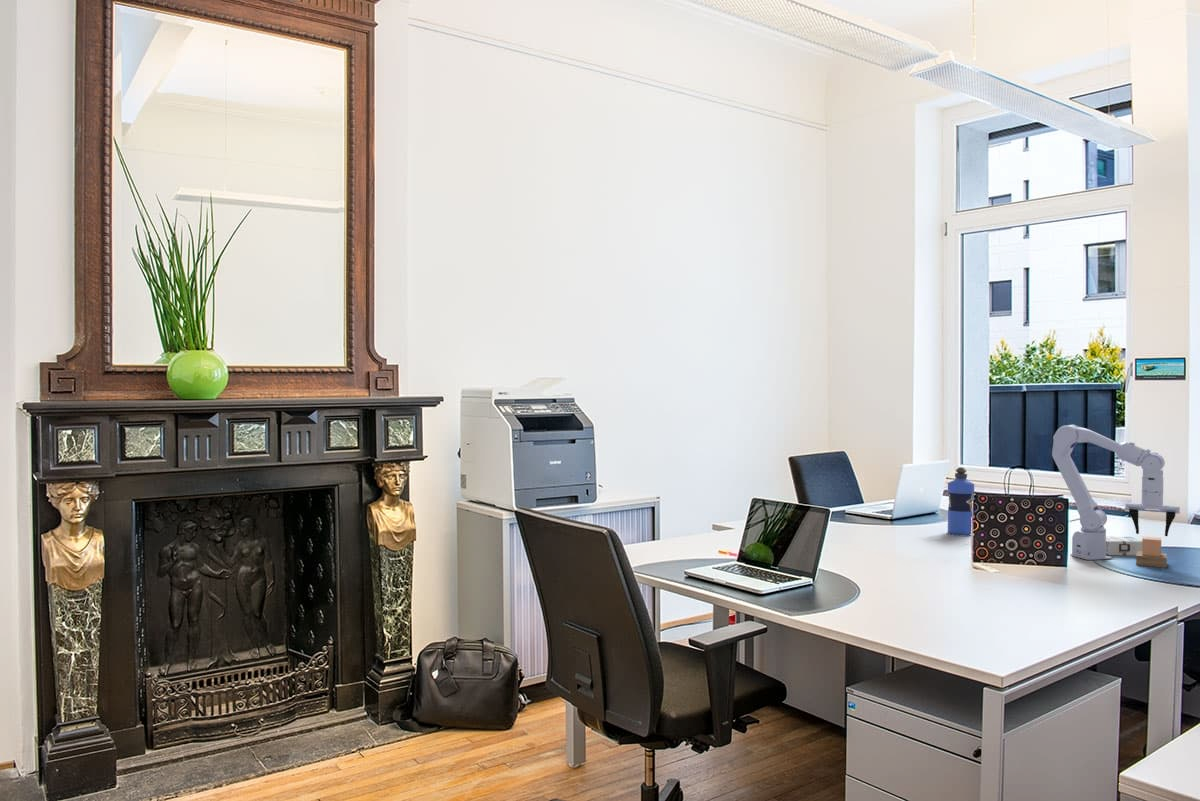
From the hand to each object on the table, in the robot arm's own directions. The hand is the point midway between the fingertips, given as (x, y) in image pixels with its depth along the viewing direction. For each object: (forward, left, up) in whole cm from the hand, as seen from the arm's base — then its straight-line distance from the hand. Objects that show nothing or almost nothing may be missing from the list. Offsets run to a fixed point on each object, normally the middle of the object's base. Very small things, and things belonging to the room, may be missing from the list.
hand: (1151, 534), depth 278 cm
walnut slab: (0, 0, -9) cm, 9 cm away
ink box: (+10, +15, -7) cm, 20 cm away
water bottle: (-25, +62, -10) cm, 68 cm away
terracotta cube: (0, 0, -6) cm, 6 cm away
